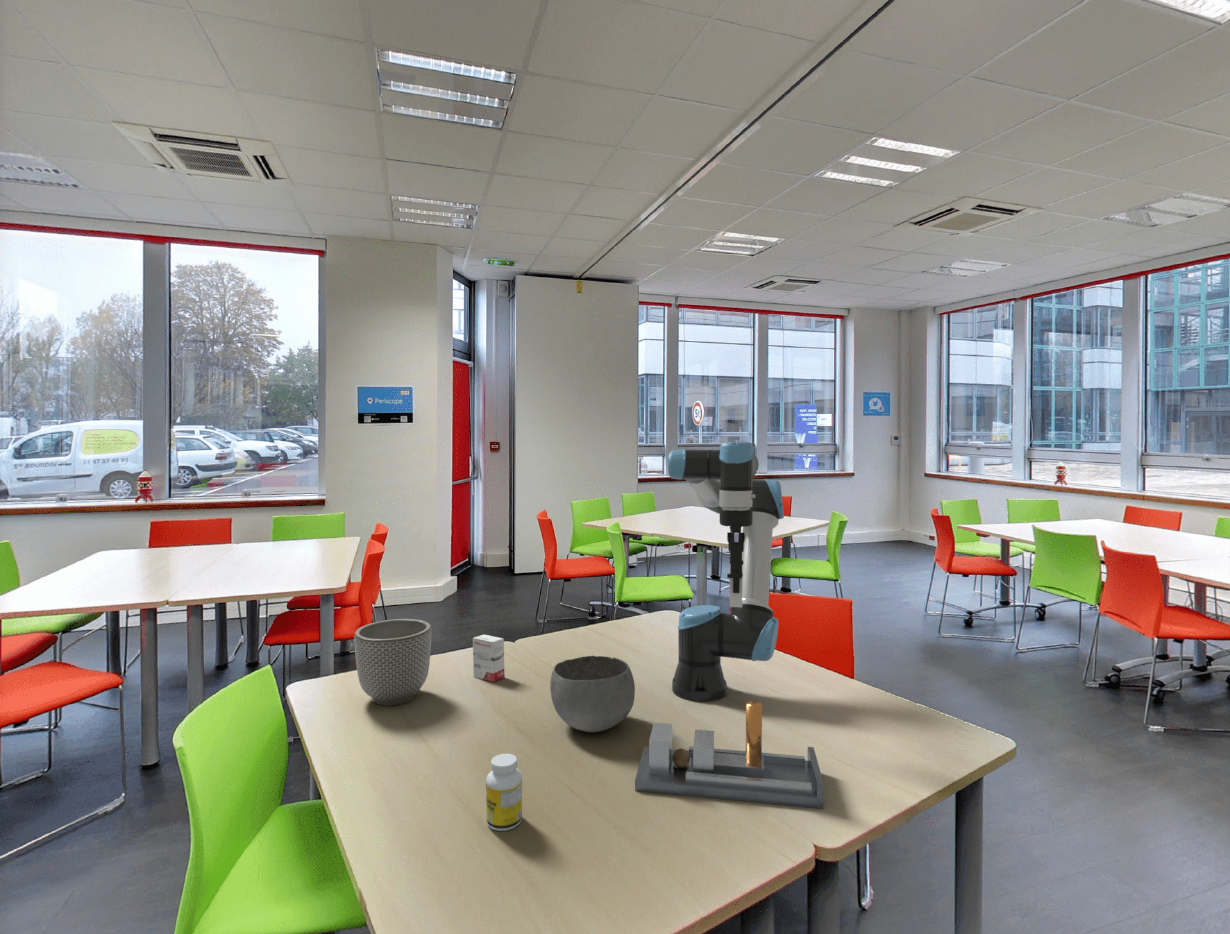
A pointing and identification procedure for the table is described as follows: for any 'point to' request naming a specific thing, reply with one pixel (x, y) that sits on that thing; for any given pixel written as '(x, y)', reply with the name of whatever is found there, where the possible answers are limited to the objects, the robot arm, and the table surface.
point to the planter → (393, 659)
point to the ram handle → (732, 763)
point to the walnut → (681, 758)
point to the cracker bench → (781, 784)
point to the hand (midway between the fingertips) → (735, 599)
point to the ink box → (488, 657)
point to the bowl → (592, 692)
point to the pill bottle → (504, 793)
